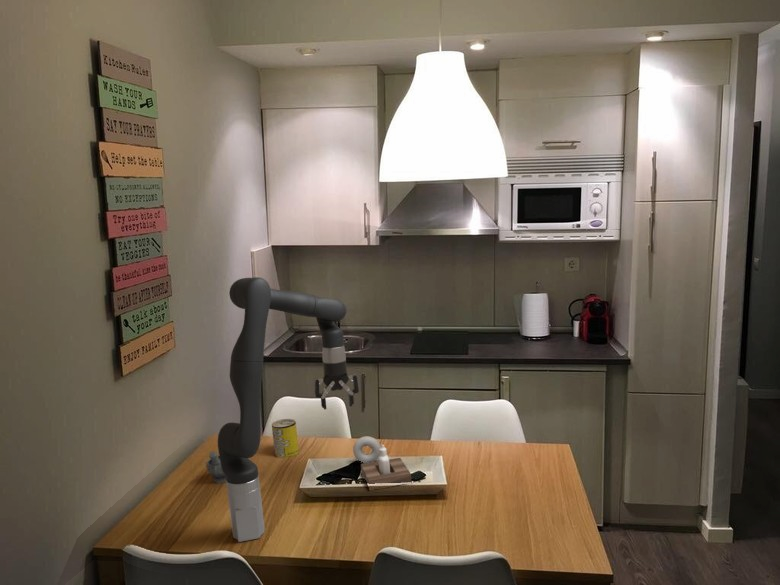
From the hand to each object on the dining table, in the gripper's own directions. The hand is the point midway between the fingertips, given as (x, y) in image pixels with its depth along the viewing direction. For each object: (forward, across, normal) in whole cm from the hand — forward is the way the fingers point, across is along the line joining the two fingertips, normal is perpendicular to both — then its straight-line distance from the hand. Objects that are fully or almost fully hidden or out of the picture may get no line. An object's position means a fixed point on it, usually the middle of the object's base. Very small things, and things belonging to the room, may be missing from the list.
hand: (338, 407), depth 223 cm
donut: (+26, +11, +12) cm, 31 cm away
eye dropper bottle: (+26, +14, -3) cm, 30 cm away
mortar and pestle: (+27, -41, +18) cm, 52 cm away
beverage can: (+26, -17, +34) cm, 46 cm away
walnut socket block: (+26, +14, -3) cm, 29 cm away
